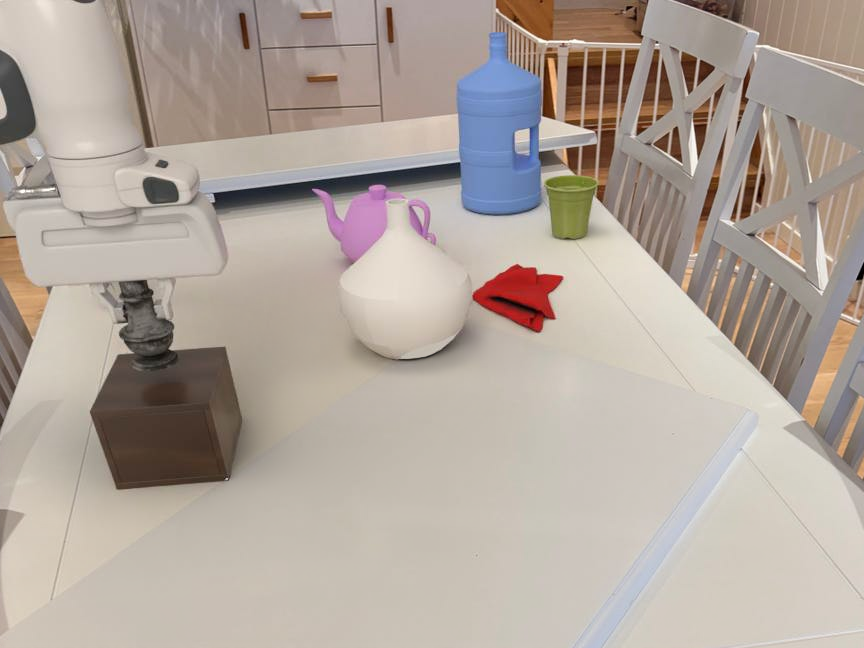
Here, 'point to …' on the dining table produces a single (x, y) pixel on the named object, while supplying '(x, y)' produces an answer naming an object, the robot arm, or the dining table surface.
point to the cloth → (520, 295)
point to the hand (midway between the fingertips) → (144, 320)
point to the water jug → (499, 135)
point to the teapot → (369, 220)
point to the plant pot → (570, 204)
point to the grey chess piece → (146, 329)
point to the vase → (404, 290)
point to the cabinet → (169, 420)
